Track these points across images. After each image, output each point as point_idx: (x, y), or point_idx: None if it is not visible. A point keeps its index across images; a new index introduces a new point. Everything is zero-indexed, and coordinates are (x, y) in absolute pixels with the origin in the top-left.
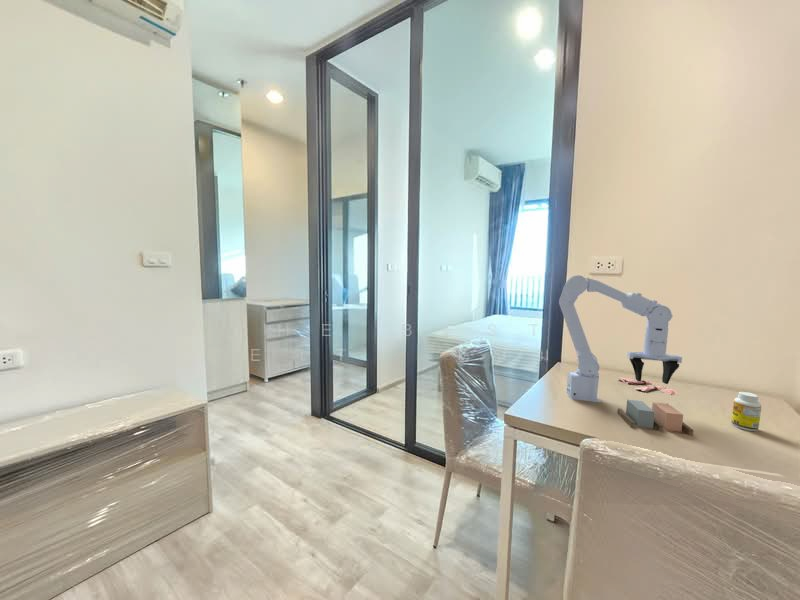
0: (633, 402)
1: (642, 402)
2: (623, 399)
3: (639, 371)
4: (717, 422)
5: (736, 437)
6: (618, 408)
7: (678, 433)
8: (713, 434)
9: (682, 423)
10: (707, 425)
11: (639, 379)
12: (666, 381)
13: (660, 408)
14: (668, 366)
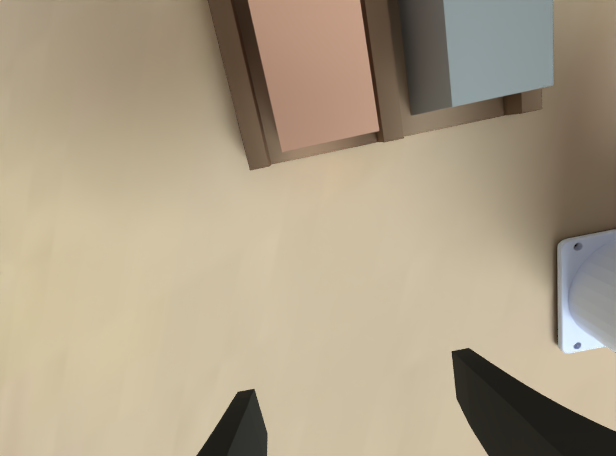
0: (528, 30)
1: (458, 72)
2: (420, 364)
3: (549, 410)
4: (57, 269)
5: (6, 96)
6: (538, 107)
7: None
8: (100, 76)
9: (231, 36)
10: (106, 199)
11: (474, 357)
12: (247, 403)
13: (358, 4)
14: None
